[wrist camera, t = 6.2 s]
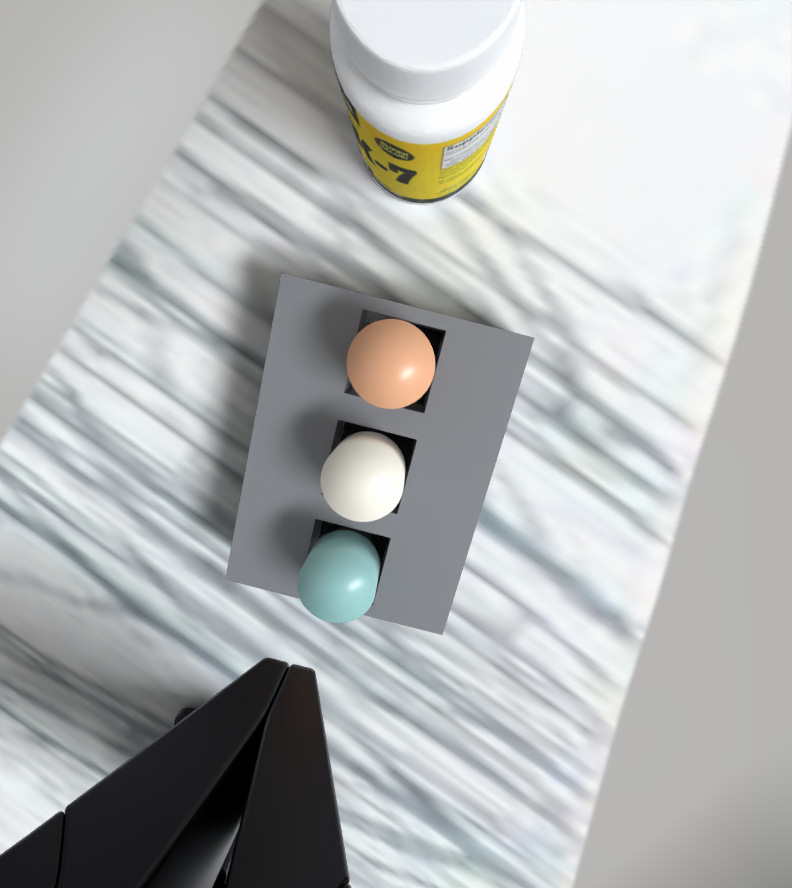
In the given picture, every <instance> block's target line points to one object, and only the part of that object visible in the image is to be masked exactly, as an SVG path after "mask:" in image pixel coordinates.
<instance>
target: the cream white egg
mask: <svg viewBox="0 0 792 888" xmlns="http://www.w3.org/2000/svg"><path fill="white" fill-rule="evenodd" d="M405 469H406V467H405V460H404V457H403V454H402V452H401V450H400V449H399V447H398V446H397V445H396V444H395V443H394V442H393V441H392V440H391V439H390V438H388V437H387V436H385V435H382V434H380V433H377V432H371V431H364V432H358V433H354V434H352V435H350V436H348V437H346V438H345V439H344V440H343V441H341V442H340V444H339V445H338V446H337V447H336V448H335V450H334V451H333V452H332V453H331V454H330V456H329V457H328V458H327V460H326V461H325V463H324V466H323V468H322V472H321V480H320V483H321V489H322V493H323V496H324V498H325V500H326V501H327V503H328V504H329V506H330V507H331V508H332V509H333V510H334V511H335V512H336V513H338V514H339V515H341V516H342V517H344V518H347V519H349V520H352V521H357V522H370V521H374V520H378V519H380V518H382V517H384V516H386V515H387V514H389V513H390V512H391V511H392V510H393V509H394V508H395V507H396V505H397V504H398V503H399V501H400V499H401V496H402V493H403V488H404V480H405Z"/></svg>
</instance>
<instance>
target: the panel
mask: <svg viewBox="0 0 792 888" xmlns="http://www.w3.org/2000/svg"><path fill="white" fill-rule="evenodd" d="M370 314H374V315H378V316H381V317H385V318H389V319H398V320H403V321H406V322H408V323H410V324H413V325H416V326H420V327H424V328H428V329H432V330H436V331H440V332H443V334H442V338H441V342H440V346H439V349H438V353H437V357H436V361H435V372H434V377H433V380H432V382H431V384H430V386H429V388H428V391H427V395H426V398H425V402H424V405H422V404H418V403H412V404H410V405H408V406H405V407H402V408H397V409H385V408H380V407H377V406H374V405H372V404H370V403H368V402H367V401H365V400H364V399H363V398H362V397H360V395H359V394H358V393H357V392H356V391H355V389H354V388H353V386H352V384H351V382H350V380H349V377H348V373H347V355H348V351H349V348H350V345H351V343H352V341H353V340H354V338H355V337H356V335H357V334H358V333H359V332H360V331H361V330H362V329H363V328H365V327H366V326H367V325H368V320H369V316H370ZM533 341H534V338H533V337H529V336H525V335H521V334H518V333H514V332H510V331H506V330H502V329H498V328H494V327H490V326H486V325H483V324H479V323H475V322H471V321H467V320H463V319H459V318H455V317H451V316H448V315H444V314H440V313H436V312H432V311H428V310H424V309H420V308H416V307H413V306H409V305H405V304H401V303H397V302H393V301H389V300H385V299H381V298H378V297H374V296H370V295H366V294H362V293H358V292H354V291H350V290H346V289H343V288H339V287H335V286H331V285H327V284H323V283H319V282H315V281H311V280H308V279H304V278H300V277H296V276H292V275H288V274H284V273H281V279H280V284H279V290H278V295H277V300H276V306H275V311H274V317H273V322H272V328H271V333H270V339H269V344H268V349H267V355H266V360H265V366H264V371H263V377H262V382H261V388H260V393H259V399H258V404H257V409H256V415H255V420H254V426H253V431H252V437H251V442H250V448H249V453H248V458H247V464H246V469H245V475H244V480H243V486H242V491H241V497H240V502H239V508H238V513H237V518H236V524H235V529H234V535H233V540H232V546H231V551H230V557H229V562H228V567H227V573H226V578H225V580H229V581H233V582H237V583H241V584H245V585H249V586H253V587H257V588H260V589H264V590H268V591H272V592H276V593H280V594H284V595H288V596H292V597H296V598H300V597H299V594H298V589H297V580H298V576H299V573H300V570H301V568H302V566H303V565H304V563H305V561H306V559H307V557H308V555H309V553H310V551H311V549H312V548H313V546H314V544H315V543H316V542H317V541H318V539H319V534H320V530H321V526H322V521H326V522H330V523H334V524H338V525H342V526H346V527H350V528H354V529H357V530H361V531H365V532H369V533H373V534H377V535H381V536H385V537H389V538H388V541H387V545H386V549H385V553H384V556H383V560H382V564H381V568H380V571H379V577H378V582H377V588H376V593H375V598H374V601H373V603H372V605H371V607H370V608H369V609H368V611H367V612H366V613H365V614H363V615H366V616H370V617H374V618H378V619H382V620H386V621H390V622H394V623H398V624H402V625H405V626H409V627H413V628H417V629H421V630H425V631H429V632H433V633H437V634H441V635H442V634H443V631H444V628H445V625H446V621H447V618H448V615H449V612H450V608H451V605H452V602H453V599H454V596H455V592H456V589H457V586H458V583H459V579H460V576H461V573H462V570H463V567H464V563H465V560H466V557H467V554H468V550H469V547H470V544H471V541H472V537H473V534H474V531H475V528H476V525H477V521H478V518H479V515H480V512H481V508H482V505H483V502H484V499H485V496H486V492H487V489H488V486H489V483H490V479H491V476H492V473H493V470H494V467H495V463H496V460H497V457H498V454H499V450H500V447H501V444H502V441H503V437H504V434H505V431H506V428H507V425H508V421H509V418H510V415H511V412H512V408H513V405H514V402H515V399H516V396H517V392H518V389H519V386H520V383H521V379H522V376H523V373H524V370H525V367H526V363H527V360H528V357H529V354H530V350H531V347H532V344H533ZM345 421H346V422H350V423H354V424H358V425H362V426H366V427H369V428H373V429H377V430H381V431H385V432H389V433H393V434H397V435H401V436H405V437H408V438H412V439H415V440H414V443H413V447H412V451H411V455H410V459H409V462H408V466H407V470H406V474H405V480H404V488H403V493H402V496H401V499H400V501H399V503H398V504H397V505H396V507H395V508H394V509H393V510H392V511H391V512H390V513H389V514H387V515H386V516H384V517H382V518H380V519H378V520H374V521H370V522H357V521H352V520H349V519H347V518H344V517H342V516H341V515H339V514H338V513H336V512H335V511H334V510H333V509H332V508H331V507H330V506H329V504H328V503H327V501H326V500H325V498H324V496H323V493H322V489H321V483H320V480H321V472H322V468H323V466H324V463H325V461H326V460H327V458H328V457H329V456H330V454H331V453H332V452H333V451H334V450H335V448H336V447H337V446H338V445H339V444H340V442H341V438H342V434H343V429H344V425H345Z"/></svg>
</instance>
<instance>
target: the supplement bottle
mask: <svg viewBox="0 0 792 888" xmlns="http://www.w3.org/2000/svg"><path fill="white" fill-rule="evenodd" d="M329 30H330V45H331V52H332V58H333V63H334V67H335V72H336V76H337V79H338V82H339V85H340V88H341V92H342V94H343V97H344V100H345V103H346V106H347V110H348V113H349V118H350V120H351V123H352V126H353V129H354V132H355V136H356V139H357V142H358V146H359V150H360V153H361V155H362V158H363V161H364V163H365V166H366V168H367V170H368V172H369V173H370V175H371V176H372V178H373V179H374V180H375V182H376V183H377V184H378V185H379V186H380V187H381V188H382V189H383V190H384V191H386V192H387V193H388V194H390V195H391V196H393V197H394V198H396V199H398V200H400V201H403V202H405V203H408V204H413V205H432V204H437V203H440V202H443V201H446V200H448V199H450V198H452V197H454V196H455V195H457V194H458V193H460V192H461V191H462V190H463V189H464V188H465V187H466V186H467V185H469V183H470V182H471V181H472V180H473V179H474V177H475V176H476V174H477V173H478V171H479V169H480V168H481V166H482V164H483V162H484V159H485V157H486V154H487V151H488V149H489V146H490V144H491V141H492V138H493V135H494V132H495V130H496V127H497V124H498V122H499V119H500V116H501V114H502V111H503V108H504V105H505V102H506V100H507V97H508V94H509V92H510V89H511V86H512V84H513V81H514V78H515V75H516V73H517V70H518V67H519V63H520V59H521V55H522V49H523V44H524V35H525V8H524V0H332V4H331V11H330V27H329Z"/></svg>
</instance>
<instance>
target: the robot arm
mask: <svg viewBox="0 0 792 888" xmlns="http://www.w3.org/2000/svg"><path fill="white" fill-rule="evenodd" d="M348 883H349V872H348V866H347V860H346V854H345V848H344V842H343V836H342V830H341V824H340V818H339V812H338V806H337V800H336V794H335V788H334V782H333V776H332V770H331V764H330V758H329V752H328V746H327V740H326V734H325V728H324V722H323V716H322V710H321V704H320V698H319V692H318V686H317V680H316V674H315V671H314V670H313V669H311V668H307V667H303V666H299V665H295V664H293V665H291V666H290V667H289V664H288V663H287V662H284V661H280V660H276V659H272V658H265V659H263V660H261V661H260V662H259V663H257V664H256V665H255V666H253V667H252V668H251V669H249V670H248V671H247V672H245V673H244V674H243V675H241V676H240V677H239V678H237V679H236V680H235V681H233V682H232V683H231V684H229V685H228V686H227V687H225V688H224V689H223V690H221V691H220V692H219V693H217V694H216V695H215V696H213V697H212V698H211V699H209V700H208V701H207V702H205V703H204V704H203V705H201V706H200V707H199V708H197V709H192V708H184V709H182V710H181V711H180V712H179V714H178V715H177V717H176V719H175V722H174V726H173V727H172V728H171V729H169V730H168V731H167V732H165V733H164V734H163V735H161V736H160V737H159V738H157V739H156V740H155V741H153V742H152V743H151V744H149V745H148V746H147V747H145V748H144V749H143V750H141V751H140V752H139V753H137V754H136V755H135V756H133V757H132V758H131V759H129V760H128V761H127V762H125V763H124V764H123V765H121V766H120V767H119V768H117V769H116V770H115V771H113V772H112V773H110V774H109V775H108V776H106V777H105V778H104V779H102V780H101V781H100V782H98V783H97V784H96V785H94V786H93V787H92V788H90V789H89V790H88V791H86V792H85V793H84V794H82V795H81V796H80V797H78V798H77V799H76V800H74V801H73V802H72V803H70V804H69V805H68V806H67V807H66V809H65V815H64V812H62V811H60V812H58V813H57V814H55V815H54V816H53V817H51V818H50V819H49V820H47V821H46V822H45V823H43V824H42V825H41V826H39V827H38V828H37V829H35V830H34V831H33V832H31V833H30V834H29V835H27V836H26V837H25V838H23V839H22V840H20V841H19V842H18V843H16V844H15V845H13V846H12V847H11V848H9V849H8V850H6V851H5V852H4V853H2V854H1V855H0V888H351V886H350V885H349V884H348Z"/></svg>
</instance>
